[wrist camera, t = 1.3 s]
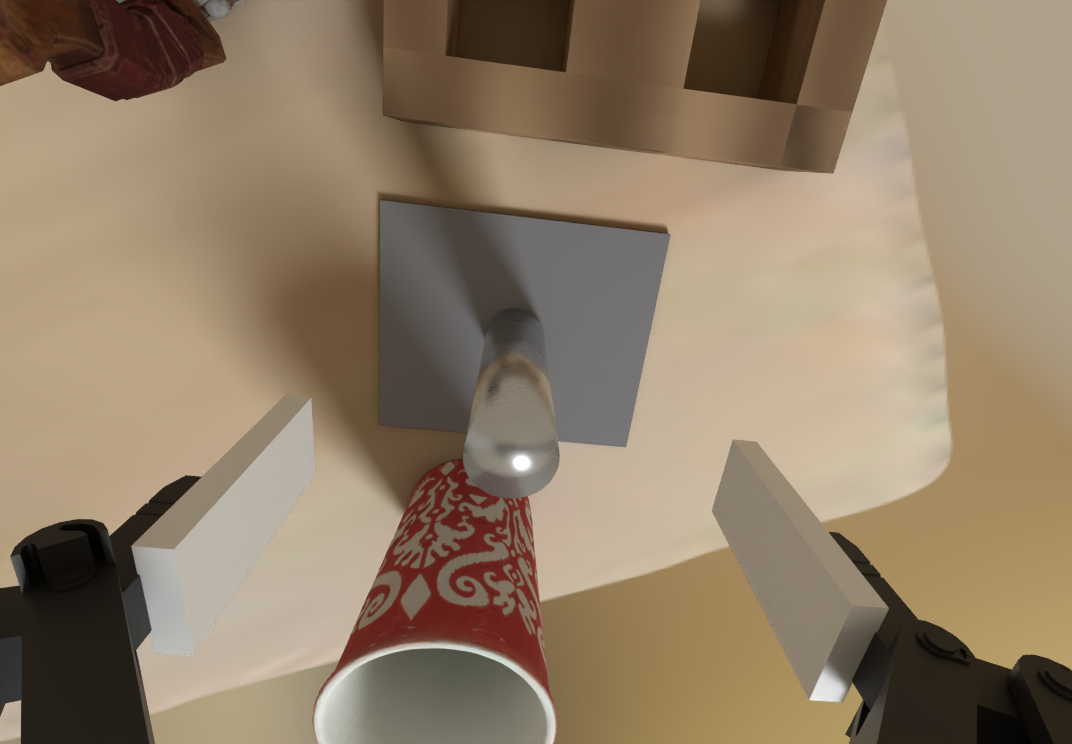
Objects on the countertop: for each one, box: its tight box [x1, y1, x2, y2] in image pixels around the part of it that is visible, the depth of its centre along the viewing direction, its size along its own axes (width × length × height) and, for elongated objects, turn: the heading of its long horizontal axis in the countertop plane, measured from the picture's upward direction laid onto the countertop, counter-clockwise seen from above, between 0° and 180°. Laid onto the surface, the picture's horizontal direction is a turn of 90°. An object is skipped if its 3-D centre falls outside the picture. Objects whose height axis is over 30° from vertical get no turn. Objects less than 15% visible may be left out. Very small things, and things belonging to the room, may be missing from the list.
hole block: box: [383, 0, 887, 173], centre depth 21 cm, size 18×9×4 cm, turn 83°
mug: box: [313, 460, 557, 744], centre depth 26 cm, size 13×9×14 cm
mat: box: [379, 200, 670, 447], centre depth 28 cm, size 14×12×1 cm
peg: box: [463, 308, 559, 499], centre depth 22 cm, size 3×3×12 cm
